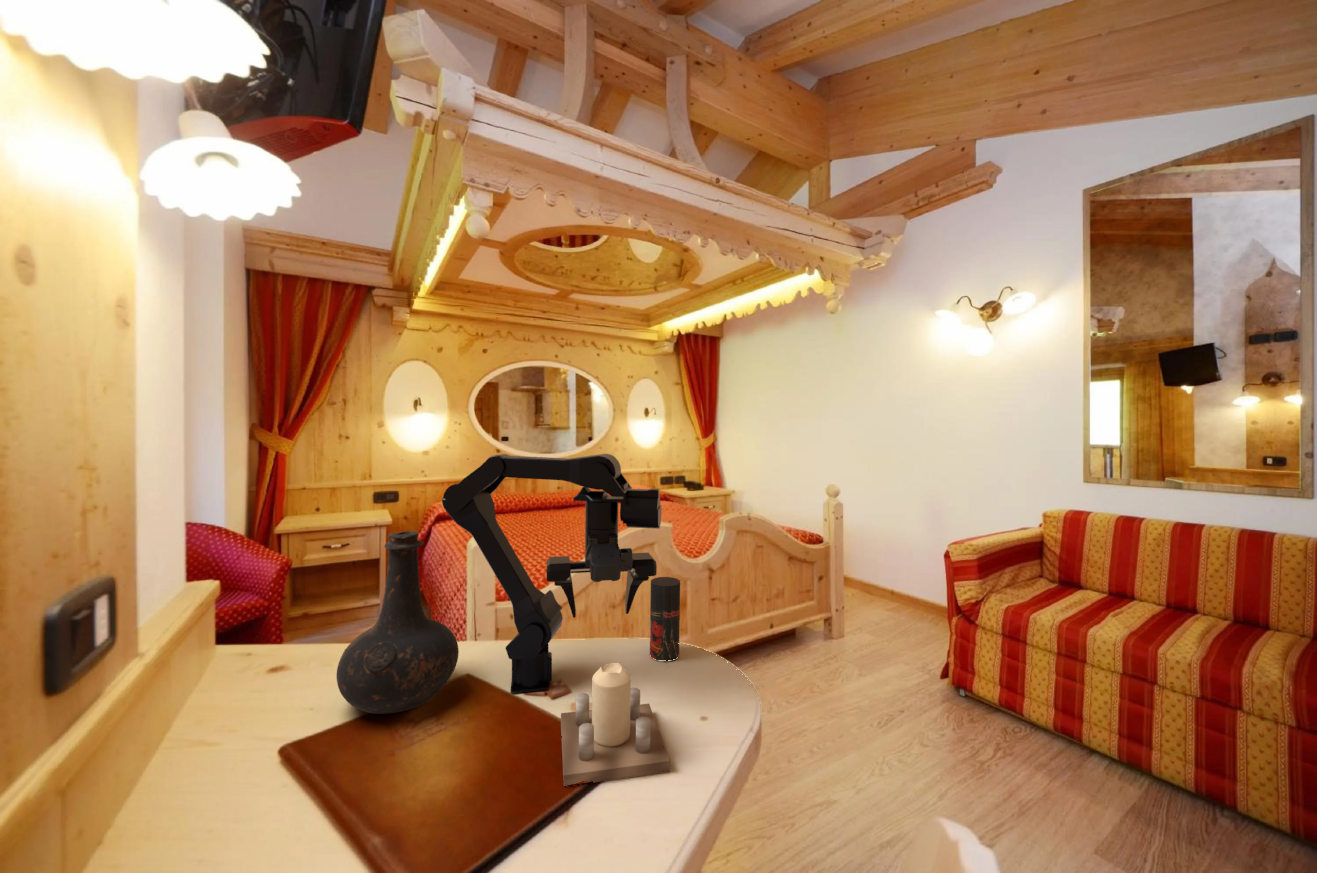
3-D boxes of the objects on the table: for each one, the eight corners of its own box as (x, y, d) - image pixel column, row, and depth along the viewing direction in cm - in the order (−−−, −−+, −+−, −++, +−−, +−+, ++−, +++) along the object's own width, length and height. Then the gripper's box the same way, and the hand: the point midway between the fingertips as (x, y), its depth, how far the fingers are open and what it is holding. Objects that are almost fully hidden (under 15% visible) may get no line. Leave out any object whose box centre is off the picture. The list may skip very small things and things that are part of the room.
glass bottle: (311, 731, 75) (309, 546, 74) (375, 672, 93) (375, 521, 92) (432, 731, 76) (431, 546, 75) (472, 672, 94) (473, 522, 93)
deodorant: (684, 659, 100) (685, 584, 99) (656, 664, 97) (657, 587, 97) (671, 646, 105) (672, 575, 105) (645, 651, 103) (646, 578, 102)
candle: (624, 750, 70) (624, 678, 69) (586, 744, 71) (587, 674, 71) (634, 726, 75) (635, 660, 75) (599, 721, 76) (599, 656, 76)
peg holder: (563, 786, 65) (564, 744, 64) (560, 722, 78) (561, 687, 78) (669, 771, 68) (670, 731, 67) (649, 712, 81) (649, 679, 81)
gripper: (546, 539, 78) (546, 638, 78) (664, 534, 82) (663, 629, 82) (546, 524, 89) (546, 612, 89) (650, 521, 93) (649, 605, 93)
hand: (600, 615), depth 88 cm, fingers open, 9 cm apart
